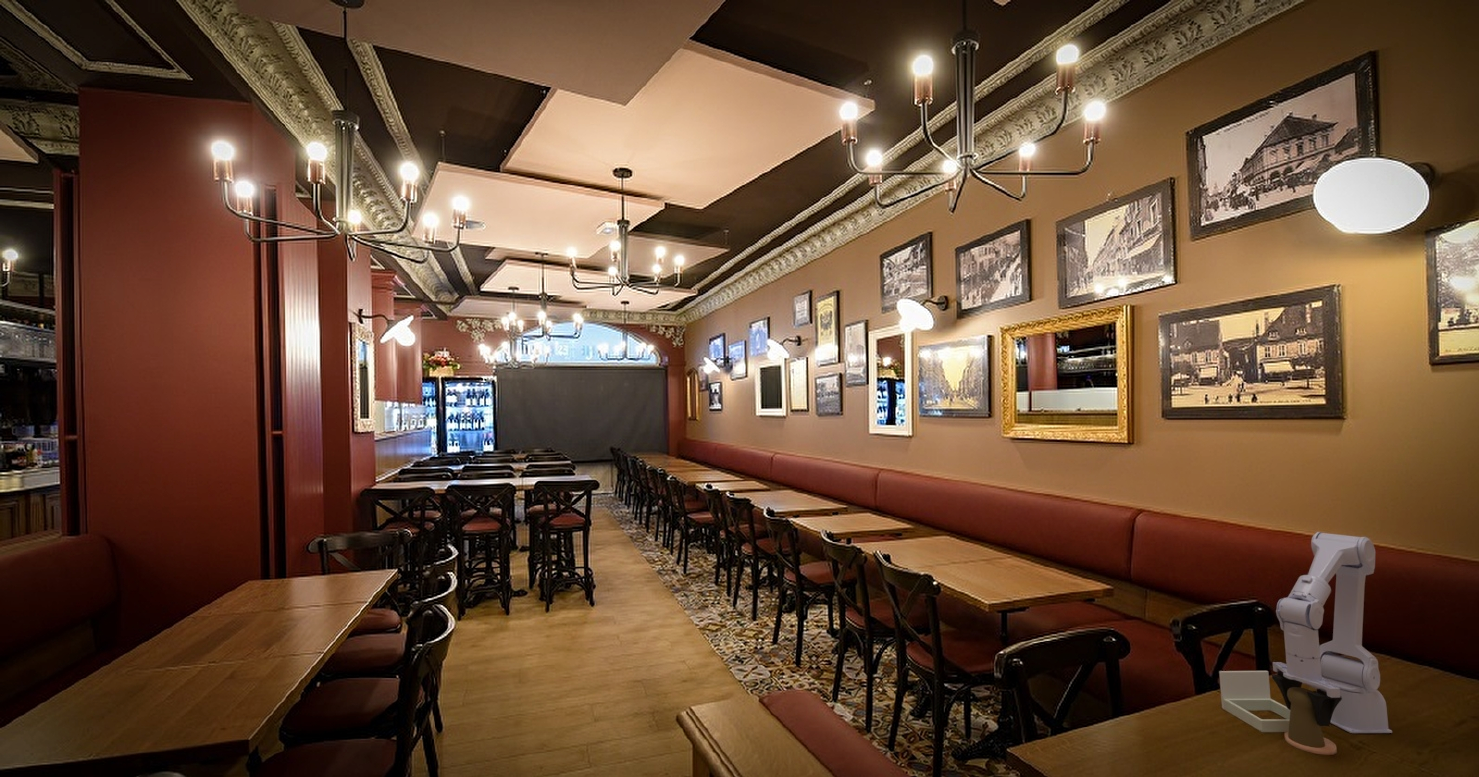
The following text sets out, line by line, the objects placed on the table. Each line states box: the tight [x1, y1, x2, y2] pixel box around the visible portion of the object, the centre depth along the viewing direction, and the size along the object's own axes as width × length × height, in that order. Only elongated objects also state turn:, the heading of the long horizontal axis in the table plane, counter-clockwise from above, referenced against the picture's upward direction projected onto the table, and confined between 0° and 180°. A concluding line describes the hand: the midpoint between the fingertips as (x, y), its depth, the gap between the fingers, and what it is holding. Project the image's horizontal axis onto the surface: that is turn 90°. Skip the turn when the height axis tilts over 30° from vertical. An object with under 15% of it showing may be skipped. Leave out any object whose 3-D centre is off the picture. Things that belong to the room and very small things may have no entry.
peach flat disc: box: [1284, 731, 1338, 756], centre depth 134 cm, size 8×8×1 cm
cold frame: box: [1218, 670, 1290, 733], centre depth 146 cm, size 12×12×9 cm
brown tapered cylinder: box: [1287, 687, 1325, 748], centre depth 135 cm, size 6×6×11 cm
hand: (1307, 717), depth 135 cm, fingers open, 7 cm apart
